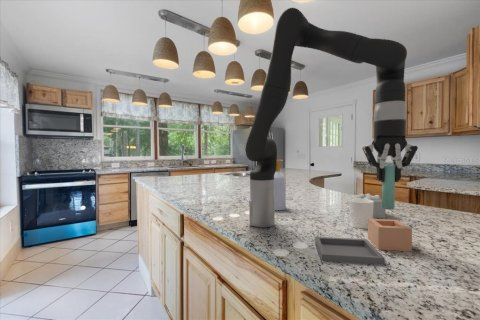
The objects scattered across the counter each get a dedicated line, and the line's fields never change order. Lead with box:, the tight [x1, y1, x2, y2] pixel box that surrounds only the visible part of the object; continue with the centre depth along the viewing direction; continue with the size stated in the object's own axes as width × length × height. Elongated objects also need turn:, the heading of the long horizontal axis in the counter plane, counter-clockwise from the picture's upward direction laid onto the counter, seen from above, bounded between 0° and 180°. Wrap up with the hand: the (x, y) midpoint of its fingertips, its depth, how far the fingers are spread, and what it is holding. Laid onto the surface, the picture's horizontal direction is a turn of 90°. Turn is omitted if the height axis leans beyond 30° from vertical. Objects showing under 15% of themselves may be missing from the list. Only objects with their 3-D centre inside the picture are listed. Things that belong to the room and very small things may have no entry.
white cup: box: [348, 197, 374, 230], centre depth 83 cm, size 8×8×10 cm
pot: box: [367, 218, 413, 252], centre depth 66 cm, size 8×8×7 cm
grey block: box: [354, 193, 386, 219], centre depth 101 cm, size 10×13×9 cm
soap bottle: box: [274, 159, 287, 212], centre depth 113 cm, size 9×9×24 cm
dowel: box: [381, 164, 396, 210], centre depth 66 cm, size 3×3×12 cm
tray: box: [314, 236, 386, 266], centre depth 62 cm, size 14×12×2 cm
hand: (388, 181), depth 66 cm, fingers closed on dowel, 3 cm apart
